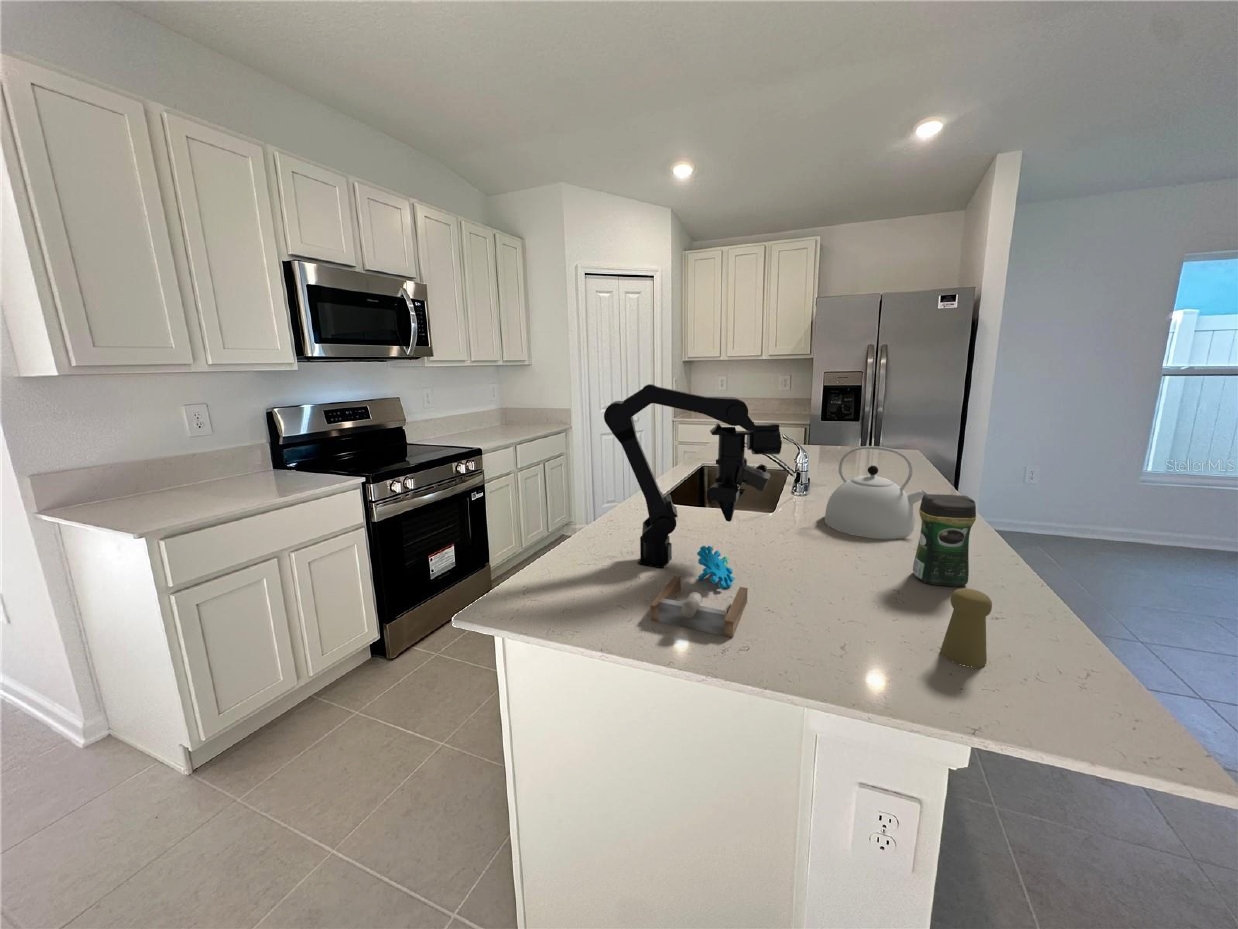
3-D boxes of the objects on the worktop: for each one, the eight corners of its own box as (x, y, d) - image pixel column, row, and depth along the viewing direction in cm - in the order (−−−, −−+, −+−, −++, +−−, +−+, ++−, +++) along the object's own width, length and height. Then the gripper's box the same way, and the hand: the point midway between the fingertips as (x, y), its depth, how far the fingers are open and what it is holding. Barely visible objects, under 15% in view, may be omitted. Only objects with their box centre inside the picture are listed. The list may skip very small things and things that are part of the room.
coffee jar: (956, 573, 106) (968, 491, 102) (972, 590, 98) (985, 502, 94) (907, 569, 108) (916, 489, 104) (919, 585, 101) (929, 499, 97)
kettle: (925, 521, 139) (934, 443, 134) (923, 547, 121) (934, 458, 116) (831, 508, 153) (837, 437, 148) (817, 529, 134) (823, 449, 129)
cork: (931, 646, 80) (939, 584, 77) (966, 644, 80) (975, 582, 78) (959, 669, 74) (969, 603, 71) (996, 666, 74) (1007, 600, 72)
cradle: (647, 624, 88) (647, 596, 86) (673, 588, 101) (674, 564, 100) (730, 643, 81) (731, 613, 80) (747, 602, 95) (748, 576, 94)
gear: (723, 590, 96) (694, 548, 100) (702, 604, 99) (675, 563, 103) (744, 577, 105) (717, 539, 109) (725, 591, 108) (699, 553, 112)
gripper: (762, 465, 97) (758, 539, 100) (774, 449, 113) (770, 513, 116) (707, 461, 101) (705, 532, 104) (726, 446, 118) (724, 508, 121)
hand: (728, 521), depth 111 cm, fingers closed
